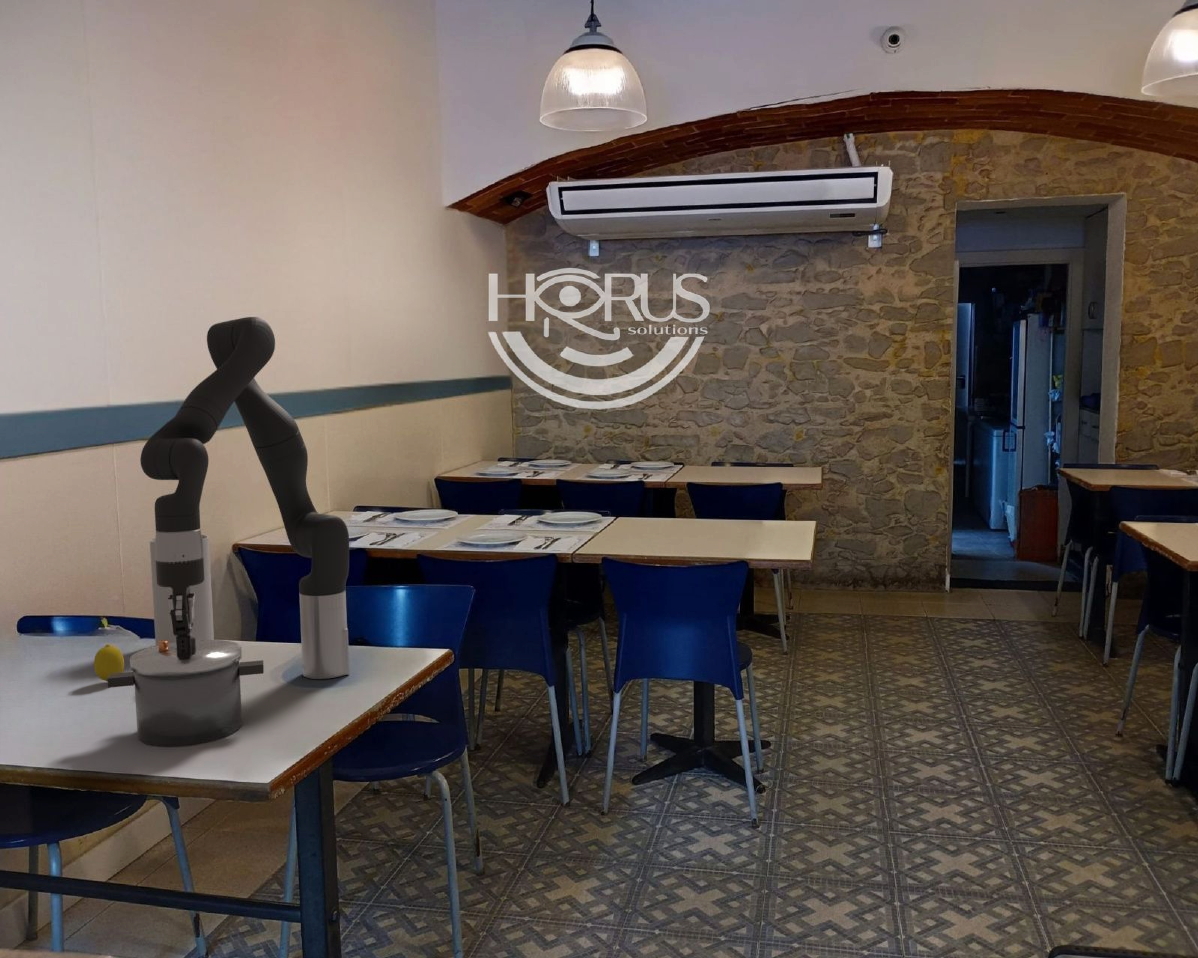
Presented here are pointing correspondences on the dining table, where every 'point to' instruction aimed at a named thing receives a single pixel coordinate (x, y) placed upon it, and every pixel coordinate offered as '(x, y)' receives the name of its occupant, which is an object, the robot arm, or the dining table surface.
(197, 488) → the robot arm
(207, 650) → the cooker lid
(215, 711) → the cooker pot
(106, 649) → the lemon
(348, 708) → the dining table surface
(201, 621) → the cylinder vase
